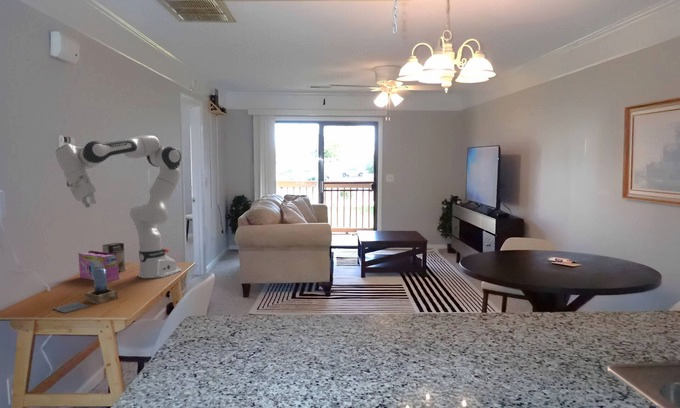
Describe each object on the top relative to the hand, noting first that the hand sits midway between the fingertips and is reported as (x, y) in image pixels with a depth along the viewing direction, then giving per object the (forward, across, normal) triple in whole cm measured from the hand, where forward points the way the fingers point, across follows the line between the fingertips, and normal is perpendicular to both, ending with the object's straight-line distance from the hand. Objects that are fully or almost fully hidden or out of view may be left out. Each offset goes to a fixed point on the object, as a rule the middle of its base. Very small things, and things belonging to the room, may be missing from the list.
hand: (91, 205), depth 207 cm
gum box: (+36, +35, +2) cm, 50 cm away
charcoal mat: (+39, -8, +28) cm, 48 cm away
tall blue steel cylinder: (+42, -6, +15) cm, 45 cm away
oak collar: (+42, -6, +15) cm, 45 cm away
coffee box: (+36, +43, -9) cm, 57 cm away
